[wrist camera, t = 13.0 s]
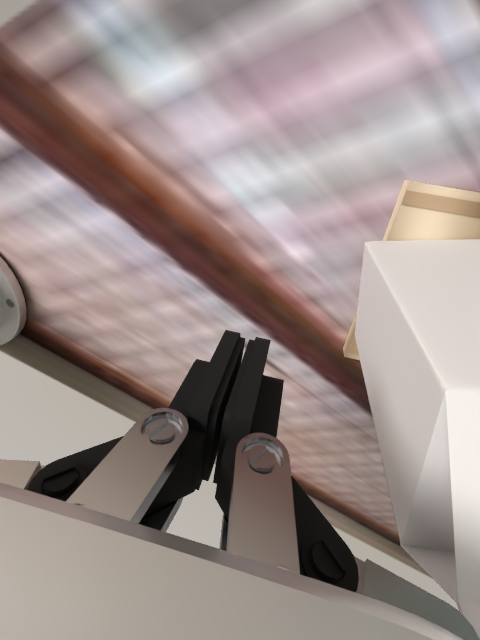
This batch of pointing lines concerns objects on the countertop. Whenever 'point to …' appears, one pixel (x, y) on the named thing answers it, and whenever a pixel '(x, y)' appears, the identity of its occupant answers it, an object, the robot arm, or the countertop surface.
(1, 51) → the countertop surface
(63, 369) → the countertop surface
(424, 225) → the beech board
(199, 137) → the countertop surface
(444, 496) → the milk carton
